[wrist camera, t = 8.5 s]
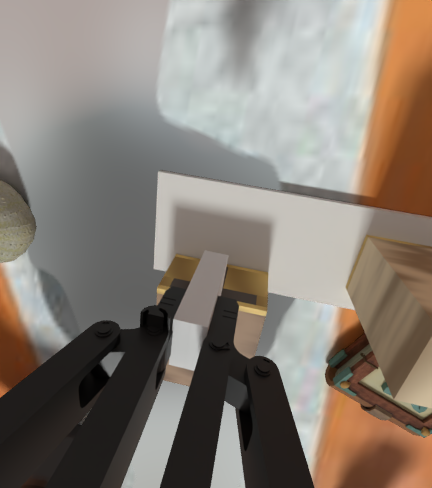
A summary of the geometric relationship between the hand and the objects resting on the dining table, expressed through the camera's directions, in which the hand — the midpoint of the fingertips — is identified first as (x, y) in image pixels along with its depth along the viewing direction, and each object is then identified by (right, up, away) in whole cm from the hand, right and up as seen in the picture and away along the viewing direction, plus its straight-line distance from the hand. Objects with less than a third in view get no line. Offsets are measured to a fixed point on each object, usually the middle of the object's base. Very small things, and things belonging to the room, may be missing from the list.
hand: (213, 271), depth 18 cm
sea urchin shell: (-25, +3, +17) cm, 30 cm away
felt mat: (+10, +1, +11) cm, 15 cm away
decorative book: (+24, -13, +16) cm, 32 cm away
